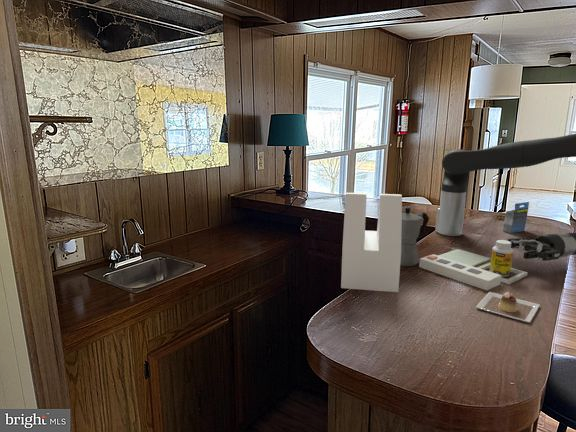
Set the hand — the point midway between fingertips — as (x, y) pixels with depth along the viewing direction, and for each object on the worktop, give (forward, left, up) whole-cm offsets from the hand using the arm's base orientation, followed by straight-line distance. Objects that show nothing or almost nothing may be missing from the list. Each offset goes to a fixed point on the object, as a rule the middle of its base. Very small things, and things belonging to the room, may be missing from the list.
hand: (513, 250), depth 124 cm
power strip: (-8, -13, -7) cm, 17 cm away
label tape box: (-21, +47, -7) cm, 52 cm away
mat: (-15, 0, -7) cm, 17 cm away
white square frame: (-1, -4, -7) cm, 8 cm away
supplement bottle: (-1, -4, -7) cm, 8 cm away
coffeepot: (-25, -17, -7) cm, 31 cm away
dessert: (+11, -24, -8) cm, 28 cm away
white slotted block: (-23, -37, -7) cm, 44 cm away
